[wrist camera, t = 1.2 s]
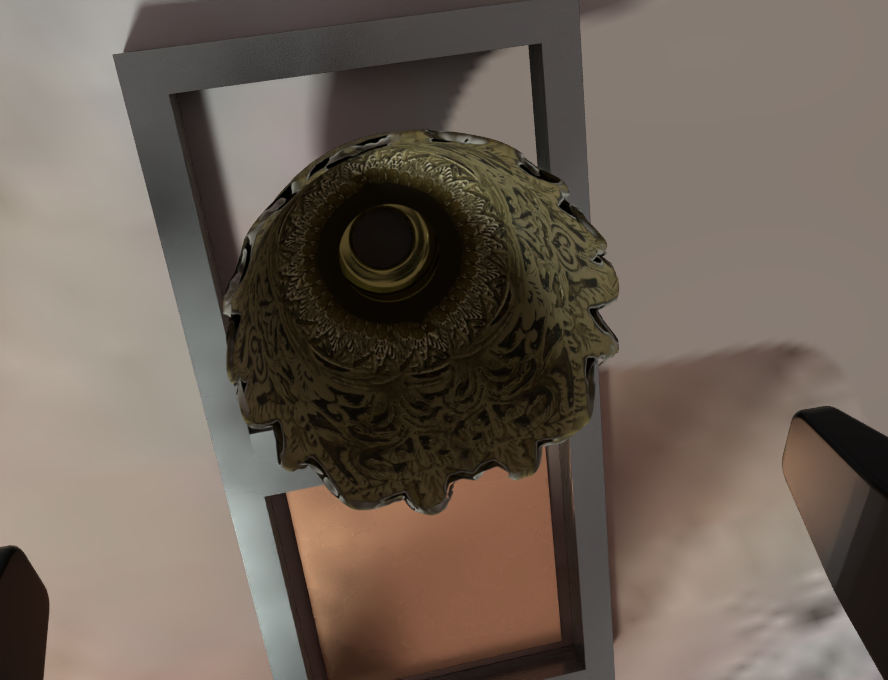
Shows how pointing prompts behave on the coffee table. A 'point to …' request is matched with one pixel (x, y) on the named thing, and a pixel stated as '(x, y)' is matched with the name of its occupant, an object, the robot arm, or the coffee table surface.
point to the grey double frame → (396, 525)
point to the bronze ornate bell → (419, 319)
